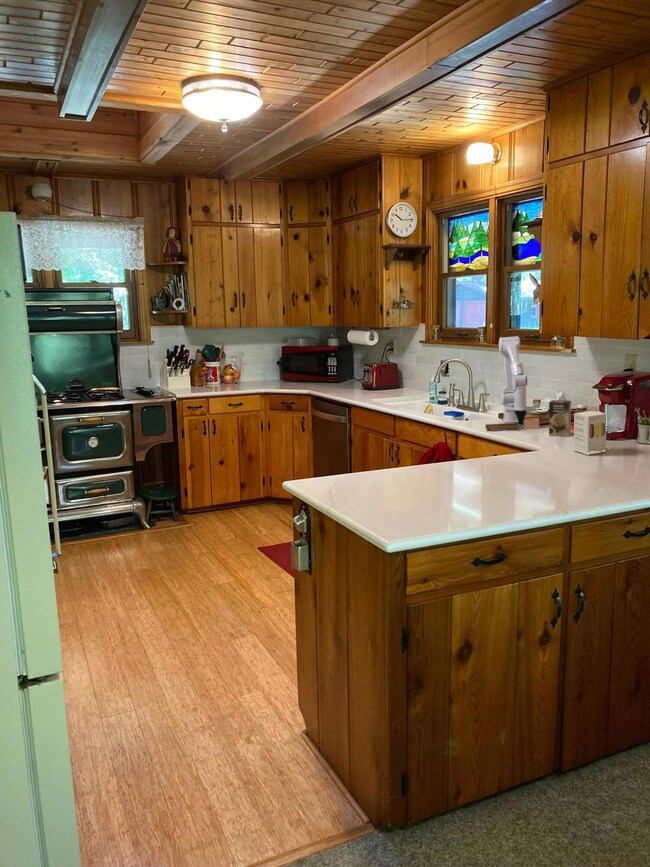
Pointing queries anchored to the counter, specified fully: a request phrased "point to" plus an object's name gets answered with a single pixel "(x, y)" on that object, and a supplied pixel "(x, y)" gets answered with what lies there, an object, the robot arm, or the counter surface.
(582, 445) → the supplement box
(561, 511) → the counter surface
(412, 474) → the counter surface
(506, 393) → the robot arm
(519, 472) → the counter surface
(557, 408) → the grey rectangular box
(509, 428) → the walnut chute
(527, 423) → the block
